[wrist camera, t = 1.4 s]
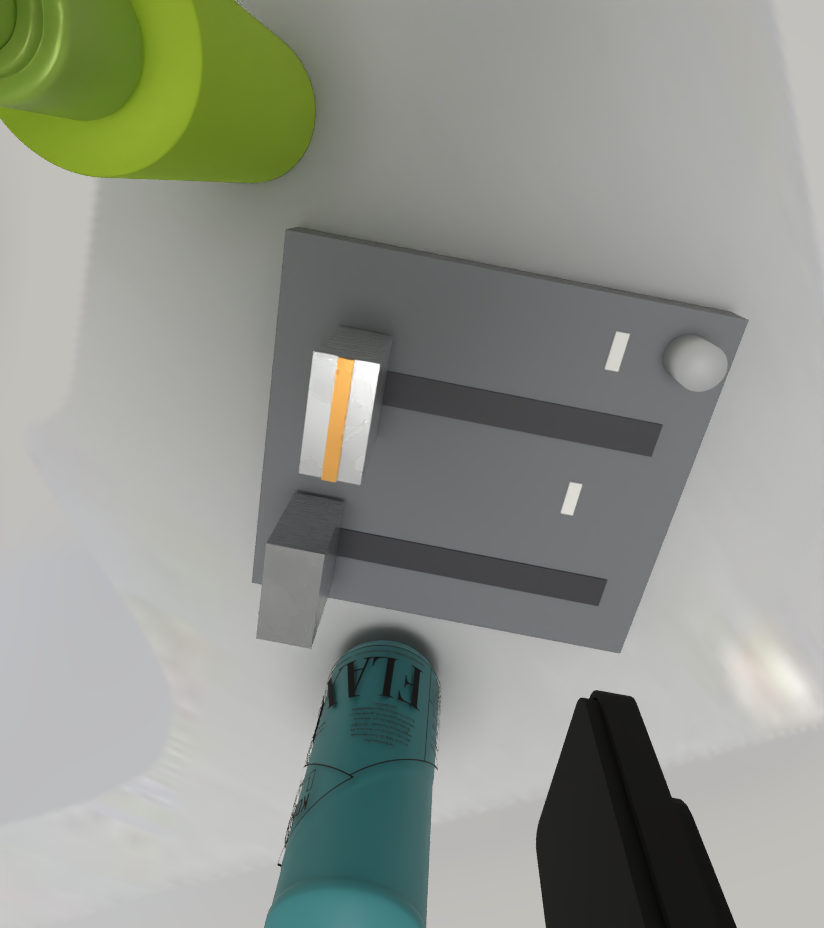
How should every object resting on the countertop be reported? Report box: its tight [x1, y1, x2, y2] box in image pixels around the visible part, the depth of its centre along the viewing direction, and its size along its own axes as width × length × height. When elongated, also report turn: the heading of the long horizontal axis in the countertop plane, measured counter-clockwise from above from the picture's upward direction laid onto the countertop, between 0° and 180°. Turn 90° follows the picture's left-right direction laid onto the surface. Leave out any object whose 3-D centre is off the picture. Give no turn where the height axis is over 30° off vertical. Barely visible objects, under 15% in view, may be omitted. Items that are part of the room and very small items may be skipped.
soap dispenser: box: [0, 0, 315, 183], centre depth 18 cm, size 6×7×20 cm
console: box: [252, 227, 748, 653], centre depth 31 cm, size 18×20×4 cm
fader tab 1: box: [256, 492, 344, 649], centre depth 30 cm, size 5×2×5 cm, turn 170°
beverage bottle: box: [264, 640, 441, 928], centre depth 29 cm, size 6×7×20 cm
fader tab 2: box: [299, 325, 393, 485], centre depth 27 cm, size 5×2×5 cm, turn 170°
